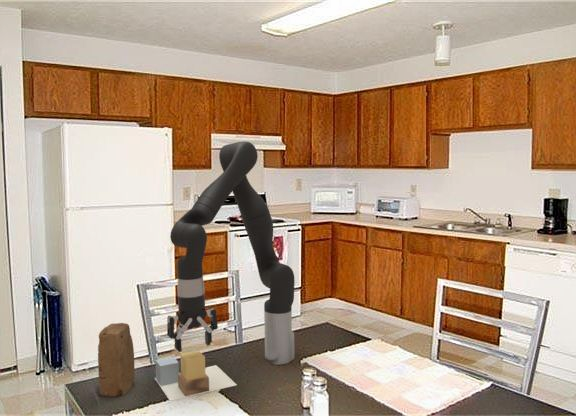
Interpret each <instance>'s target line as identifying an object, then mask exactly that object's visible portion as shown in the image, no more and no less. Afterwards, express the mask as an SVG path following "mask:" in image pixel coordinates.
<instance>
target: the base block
mask: <svg viewBox="0 0 576 416" xmlns="http://www.w3.org/2000/svg"><path fill="white" fill-rule="evenodd" d="M178 387H179V389H180V390H181V391H182V393H183V394H184V395H185V396H189V395H194V394H198V393H202V392H206V391H209V377H208V376H207V375H206V374H205V377H203V378H198V379H194V380H189V381H186V379H185V378H184V377H183V376H182V375H181V372H179V374H178ZM206 393H207V392H206ZM202 394H203V393H202ZM198 395H199V394H198ZM194 396H195V395H194ZM189 397H190V396H189Z"/></svg>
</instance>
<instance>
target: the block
mask: <svg viewBox="0 0 576 416" xmlns="http://www.w3.org/2000/svg"><path fill="white" fill-rule="evenodd" d="M130 329H131V328H130V325H129V324H128V323H125V322H124V323H123V322H119V323H110V324H109V325H107V326H104V328H103V329H101V331H100V332H99V334H98V339H99V340H98V342H99V343H98V345H97V351H98V353H97V363H98V365H97V366H98V370H97V371H98V384H99V385H98V386H99V387H98V388H99V393H100V396H104V397H118V396H125V394H126V393H128V392H129V391H130V390H131V388H132V387H133V384H134V380H135V349H134V342H133V338H132V334H131V330H130Z"/></svg>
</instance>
